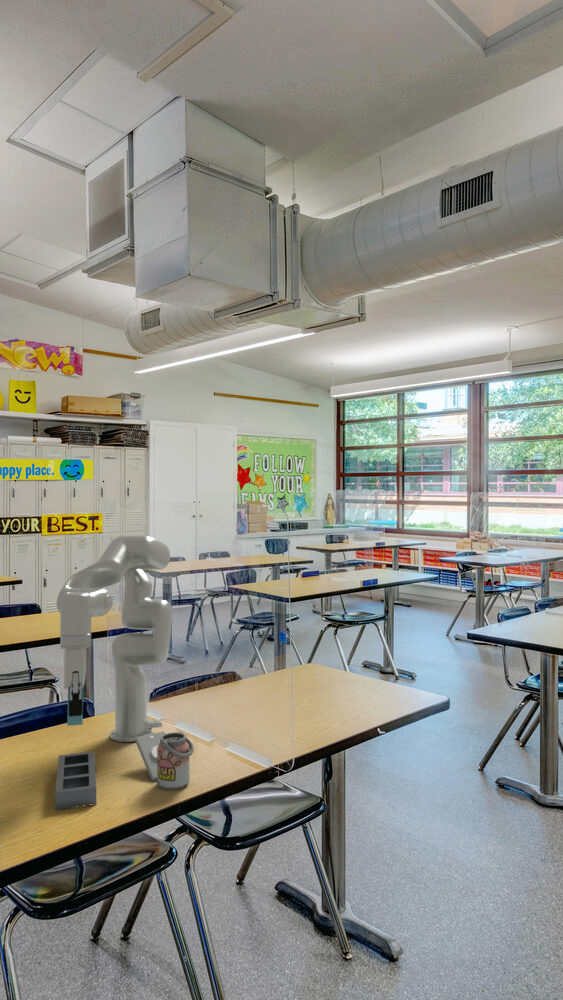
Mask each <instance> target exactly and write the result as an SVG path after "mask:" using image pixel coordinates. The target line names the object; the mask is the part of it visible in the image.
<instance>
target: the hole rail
mask: <svg viewBox="0 0 563 1000" xmlns="http://www.w3.org/2000/svg"><path fill="white" fill-rule="evenodd" d="M95 754H96V753H95V751H85V752H77V753H69V754H61V755H58V758H57V759H58V760H57V761H58V762H57V772H56V779H55V780H56V782H55V791H54V792H55V793H54V801H55V802H54V804H55V805H54V807H55V808H54V809H55V811H60V810H68V809H67V808H69V809H73V808H72V807H76V806H83V805H89V804H96V805H97V775H96V774H97V773H96V758H95ZM83 807H84V806H83ZM76 808H77V807H76Z"/></svg>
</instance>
